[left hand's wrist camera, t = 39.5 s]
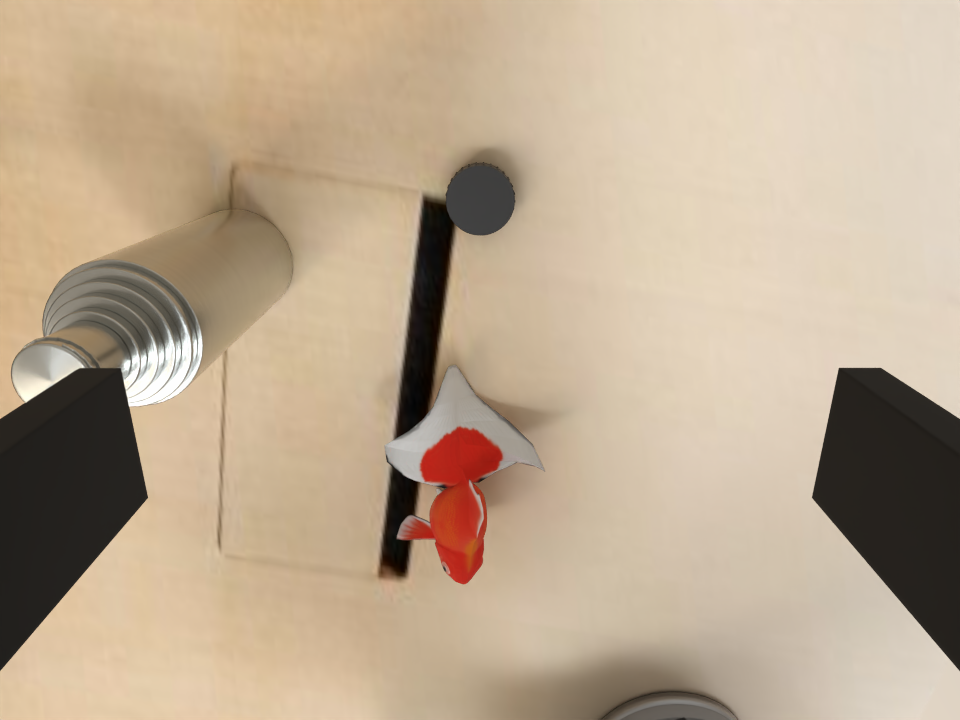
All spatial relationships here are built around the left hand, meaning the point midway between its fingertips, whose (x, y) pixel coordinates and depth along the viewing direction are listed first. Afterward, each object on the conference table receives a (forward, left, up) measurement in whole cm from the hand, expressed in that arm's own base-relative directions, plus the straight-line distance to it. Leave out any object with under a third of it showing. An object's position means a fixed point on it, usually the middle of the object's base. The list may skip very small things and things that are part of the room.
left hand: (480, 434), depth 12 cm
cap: (0, 0, -33) cm, 33 cm away
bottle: (+9, +15, -35) cm, 39 cm away
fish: (-12, +15, -35) cm, 40 cm away
